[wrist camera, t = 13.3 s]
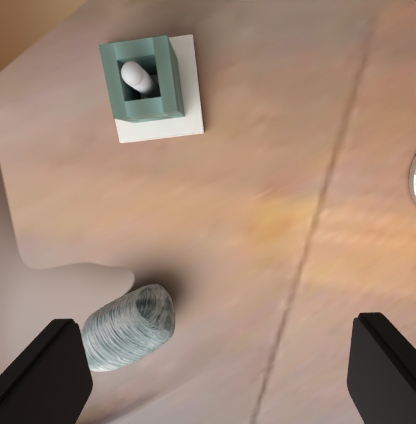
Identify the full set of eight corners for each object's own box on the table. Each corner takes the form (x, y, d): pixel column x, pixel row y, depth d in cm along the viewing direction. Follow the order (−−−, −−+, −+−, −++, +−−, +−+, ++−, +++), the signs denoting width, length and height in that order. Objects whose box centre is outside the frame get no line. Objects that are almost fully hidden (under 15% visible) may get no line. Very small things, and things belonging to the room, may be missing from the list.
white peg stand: (193, 39, 28) (182, -15, 18) (204, 133, 30) (199, 129, 21) (106, 52, 28) (51, 6, 19) (124, 142, 31) (84, 143, 21)
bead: (177, 58, 27) (167, 35, 21) (184, 116, 28) (177, 110, 23) (123, 65, 27) (98, 44, 21) (133, 123, 29) (113, 118, 23)
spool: (152, 265, 32) (135, 352, 25) (191, 294, 38) (186, 371, 31) (79, 287, 37) (48, 365, 30) (124, 310, 43) (107, 379, 36)
